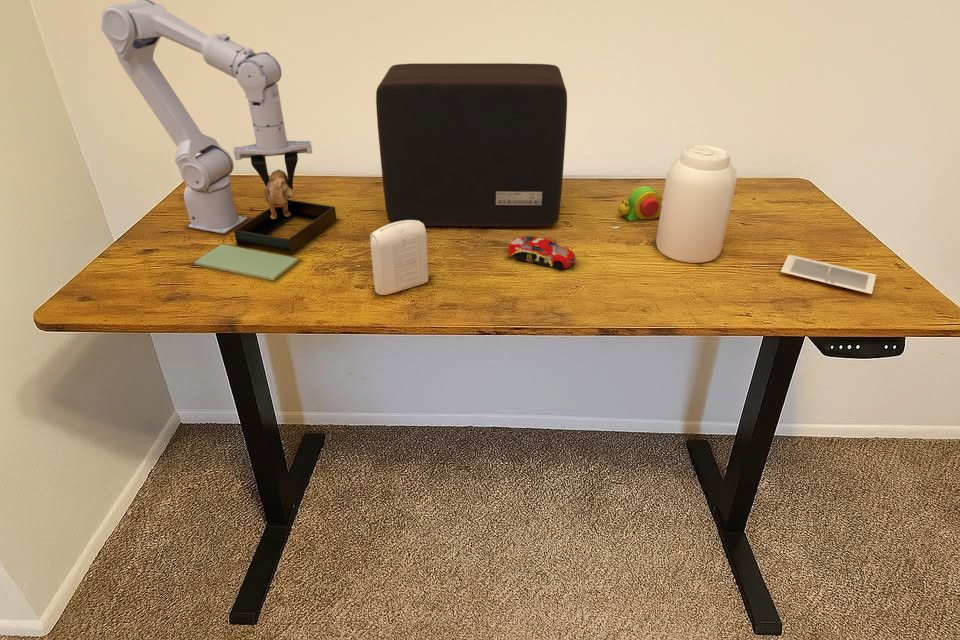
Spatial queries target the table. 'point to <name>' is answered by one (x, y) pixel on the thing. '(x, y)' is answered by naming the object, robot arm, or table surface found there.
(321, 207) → the picture frame
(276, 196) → the lion figurine
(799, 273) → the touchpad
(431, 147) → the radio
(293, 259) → the sage mat
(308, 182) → the table surface
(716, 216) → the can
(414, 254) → the photo printer
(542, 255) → the race car
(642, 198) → the toy snail
